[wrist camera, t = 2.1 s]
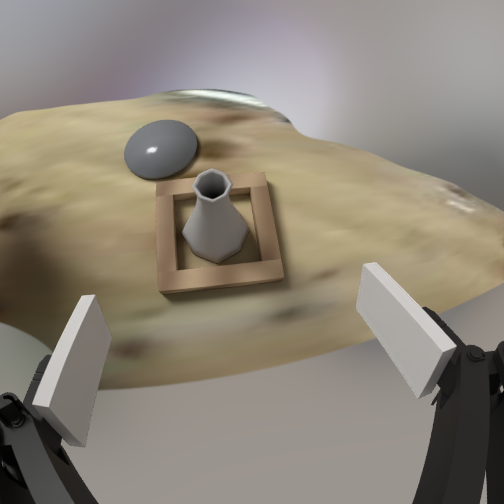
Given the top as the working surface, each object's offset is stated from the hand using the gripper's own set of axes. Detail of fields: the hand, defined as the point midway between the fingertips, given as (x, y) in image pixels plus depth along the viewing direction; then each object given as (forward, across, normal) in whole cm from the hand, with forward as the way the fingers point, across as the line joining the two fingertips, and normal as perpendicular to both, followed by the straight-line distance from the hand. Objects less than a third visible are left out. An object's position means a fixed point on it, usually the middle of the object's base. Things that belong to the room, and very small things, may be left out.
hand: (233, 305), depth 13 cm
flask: (+20, 0, -4) cm, 20 cm away
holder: (+20, 0, -4) cm, 20 cm away
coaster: (+29, -7, +5) cm, 30 cm away
